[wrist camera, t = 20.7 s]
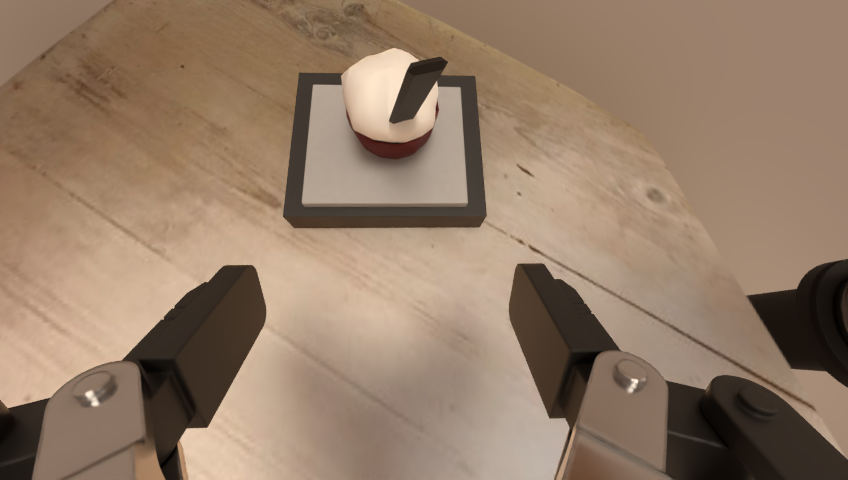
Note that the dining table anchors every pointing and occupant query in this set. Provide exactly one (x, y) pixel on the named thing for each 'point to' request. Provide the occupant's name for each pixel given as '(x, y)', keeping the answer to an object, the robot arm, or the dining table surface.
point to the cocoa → (392, 101)
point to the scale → (383, 165)
